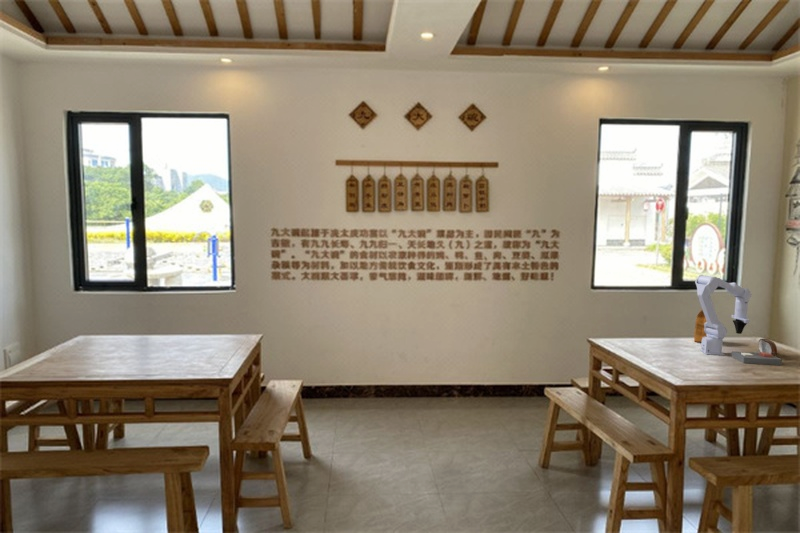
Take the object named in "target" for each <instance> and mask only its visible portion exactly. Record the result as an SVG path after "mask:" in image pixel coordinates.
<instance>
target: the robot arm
mask: <svg viewBox="0 0 800 533" xmlns="http://www.w3.org/2000/svg"><path fill="white" fill-rule="evenodd" d="M694 284H695V286H696V295H697V297H698V301H699V303H700V307H701V310H703V312H704V315H705V318H706V321H707V322H706V323H705V324H704V327H705V329H704V331H705V333H706V336H707V337H703V338H702V342H700V352H702V353H704V354H705V355H716V356H717V355H719V356H721V355H722V356H725V355H726V354H725V353H723V351H722V350H723V342H724V341H723V340H724V339H725V337H726V336H727V335H728V329H727V328H726V327H725V325H724V323H722V322H721V321H720V320H719V318H718V314H717V312H716V309H715V306H714V304H713V301H712V298H711V294H713V293H714V292H715V291H716V289H717V288H718V287H720V288H722V289H725V292H726V293H729V294H731V295H733V297H734V298H735V303H734V313H733V314H731V319H733V320H732V322H733V323H732V324H733V325H734V327H735V333H736V334H737V335H741V334H742V333H743V331H744V329H745V327H746V326H747V324H750V319H749V317H748V315H747V314H748V305H749V301H750V298H751V297H752V292H751V290H750V289H749V288H745V287H743V286H742V285H738V284H737V282H727V281H725V280H723V279H721V278H720V277H717V276H711V275H710V276H709V275H703V274H700V275H698V276H697V278H696V279H695V281H694Z"/></svg>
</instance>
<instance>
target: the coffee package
mask: <svg viewBox="0 0 800 533" xmlns="http://www.w3.org/2000/svg"><path fill="white" fill-rule="evenodd" d="M706 322H707V321H706V318H705V315H704V312H703V310H702V309H700V311H699V312H698V313H697V316H696V318H695V326H694V339H693V340H694V342H696V343H701V342H702V338H703V337H707V336H706V333H705V331H704V329H705V327H704V324H705V323H706Z"/></svg>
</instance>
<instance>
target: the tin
mask: <svg viewBox="0 0 800 533" xmlns="http://www.w3.org/2000/svg"><path fill="white" fill-rule="evenodd" d="M777 348H778V347H777V345H776V343H775V342H774V341H772V340H771V339H768V338H760V339H758V350H759V353H760V352H765V353H770V354H772V355H773V356H775V357H777V353H778V349H777Z"/></svg>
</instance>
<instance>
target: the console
mask: <svg viewBox="0 0 800 533" xmlns="http://www.w3.org/2000/svg"><path fill="white" fill-rule="evenodd" d="M741 353H750V354H752V355H753V356H744V355H742V354H741ZM759 353H760V352H752V351H751V352H749V351H731V358H732V359H735V360H737V361H739V362H741V363H742V364H748V365H749V364H753V365H771V366H782V365H783V359H782V358H780V357H778V356H773V355H772V357H763V356H761V355H759Z"/></svg>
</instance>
